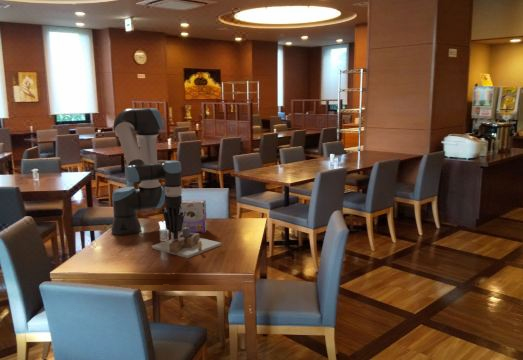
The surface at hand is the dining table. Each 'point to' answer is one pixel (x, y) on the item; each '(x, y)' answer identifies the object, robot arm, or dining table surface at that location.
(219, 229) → the dining table surface
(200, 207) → the candy box
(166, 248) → the post board
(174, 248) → the wooden frame with handle
